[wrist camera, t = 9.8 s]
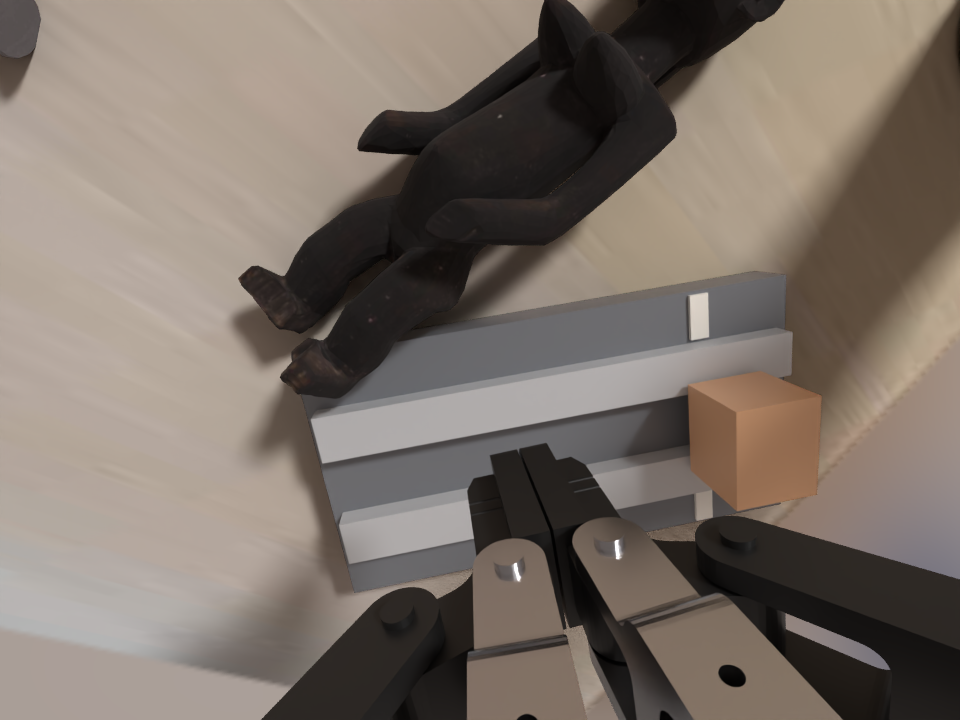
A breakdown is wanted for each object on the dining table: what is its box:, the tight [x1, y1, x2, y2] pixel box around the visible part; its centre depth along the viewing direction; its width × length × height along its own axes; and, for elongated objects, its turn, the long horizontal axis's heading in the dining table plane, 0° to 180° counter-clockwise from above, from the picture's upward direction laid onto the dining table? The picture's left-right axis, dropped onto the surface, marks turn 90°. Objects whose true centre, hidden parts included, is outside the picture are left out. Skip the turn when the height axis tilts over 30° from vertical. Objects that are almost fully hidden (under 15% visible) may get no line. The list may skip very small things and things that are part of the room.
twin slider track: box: [301, 271, 793, 593], centre depth 27 cm, size 26×14×4 cm, turn 99°
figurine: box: [238, 0, 784, 399], centre depth 21 cm, size 8×30×8 cm, turn 127°
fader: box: [688, 371, 822, 511], centre depth 24 cm, size 4×5×5 cm
